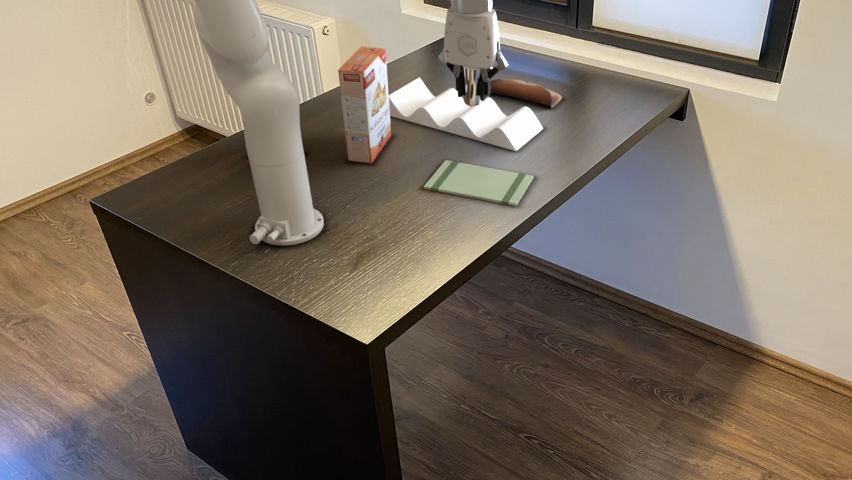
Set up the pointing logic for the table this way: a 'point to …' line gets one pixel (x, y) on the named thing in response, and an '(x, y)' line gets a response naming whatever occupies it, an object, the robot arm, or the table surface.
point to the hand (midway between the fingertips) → (473, 95)
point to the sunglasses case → (525, 91)
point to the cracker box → (365, 103)
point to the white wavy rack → (464, 116)
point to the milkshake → (471, 85)
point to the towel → (479, 182)
